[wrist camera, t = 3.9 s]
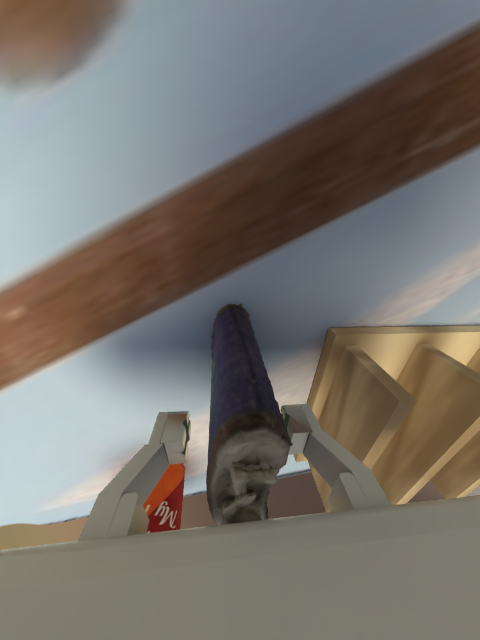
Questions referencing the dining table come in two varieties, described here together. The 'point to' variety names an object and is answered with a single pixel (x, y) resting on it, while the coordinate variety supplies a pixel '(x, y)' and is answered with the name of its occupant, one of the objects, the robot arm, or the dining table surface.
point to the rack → (403, 406)
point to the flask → (241, 424)
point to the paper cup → (166, 501)
